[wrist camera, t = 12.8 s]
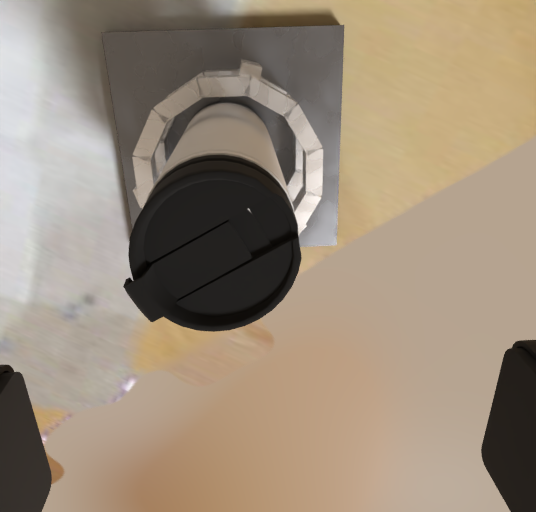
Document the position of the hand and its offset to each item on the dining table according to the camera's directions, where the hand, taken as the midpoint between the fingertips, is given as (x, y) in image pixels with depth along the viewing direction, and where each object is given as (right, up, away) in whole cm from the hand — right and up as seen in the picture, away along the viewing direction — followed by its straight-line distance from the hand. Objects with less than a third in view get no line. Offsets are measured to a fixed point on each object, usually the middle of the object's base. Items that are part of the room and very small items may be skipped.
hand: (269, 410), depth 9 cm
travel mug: (-3, +11, +25) cm, 28 cm away
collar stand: (-3, +11, +26) cm, 29 cm away
